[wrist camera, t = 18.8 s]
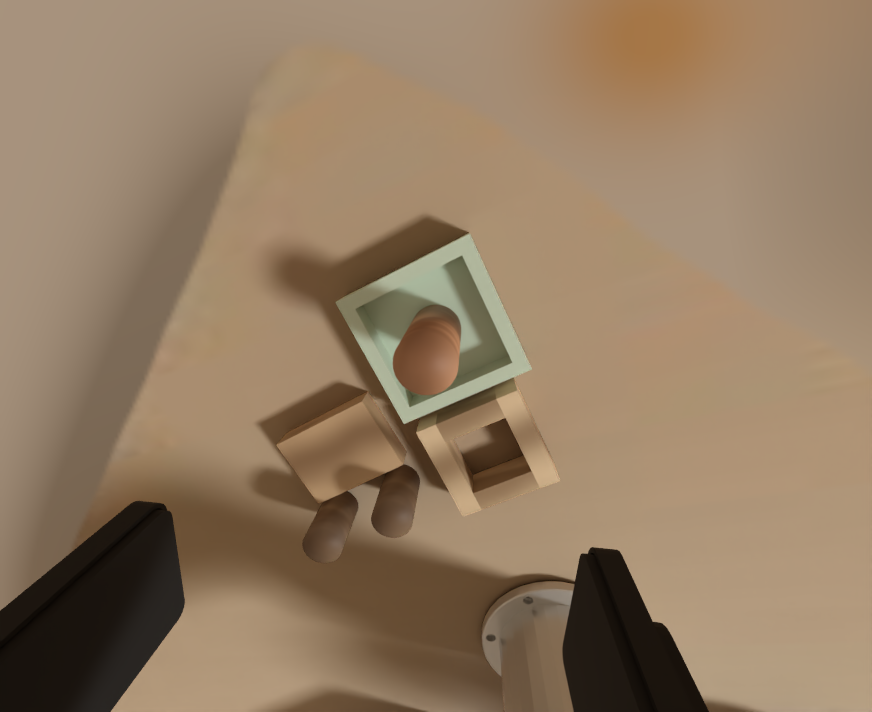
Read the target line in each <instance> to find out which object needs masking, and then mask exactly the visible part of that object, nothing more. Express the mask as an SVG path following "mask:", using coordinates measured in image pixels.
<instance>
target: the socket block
mask: <svg viewBox="0 0 872 712" xmlns="http://www.w3.org/2000/svg"><path fill="white" fill-rule="evenodd" d="M504 418H506V420H507V422H508V424H509V426H510V428H511V430H512V432H513V434H514V436H515V438H516V440H517V442H518V444H519V446H520V448H521V450H522V452H523V454H524V455H523V456H520V457H518V458H515V459H513V460H510V461H507V462H505V463H502V464H500V465H497V466H494V467H492V468H489V469H487V470H484V471H481V472H479V473H476V474H474V475H472V473H471V471H470V469H469V467H468V465H467V463H466V462H465V460H464V458H463V456H462V454H461V452H460V450H459V449H458V447H457V445H456V443H455V441H454V439H455V438H457V437H460V436H462V435H465V434H467V433H470V432H472V431H475V430H477V429H479V428H482V427H484V426H487V425H489V424H492V423H494V422H497V421H499V420H502V419H504ZM416 433H417V435H418V437H419V439H420V440H421V442H422V444H423V446H424V448H425V449H426V451H427V453H428V455H429V457H430V458H431V460H432V462H433V464H434V466H435V467H436V469H437V471H438V473H439V474H440V476H441V478H442V480H443V482H444V483H445V485H446V487H447V489H448V491H449V492H450V494H451V496H452V498H453V500H454V501H455V503H456V505H457V507H458V509H459V510H460V512H461V514H462V516H466V515H469V514H472V513H474V512H477V511H480V510H482V509H485V508H488V507H491V506H493V505H496V504H499V503H502V502H504V501H507V500H510V499H512V498H515V497H518V496H521V495H523V494H526V493H529V492H531V491H534V490H537V489H540V488H542V487H545V486H548V485H551V484H553V483H556V482H559V481H560V478H559V476H558V473H557V470H556V467H555V464H554V462H553V460H552V458H551V455H550V453H549V451H548V449H547V447H546V445H545V443H544V441H543V439H542V436H541V434H540V432H539V430H538V428H537V426H536V424H535V422H534V420H533V417H532V415H531V413H530V411H529V409H528V407H527V405H526V403H525V401H524V398H523V396H522V394H521V392H520V390H519V388H518V386H517V384H516V381H515V379H514V378H512V379H509V380H507V381H505V382H502V383H500V384H498V385H495V386H493V387H491V388H488V389H486V390H484V391H481V392H479V393H477V394H474V395H472V396H470V397H467V398H465V399H463V400H460V401H458V402H456V403H453V404H451V405H449V406H446V407H444V408H442V409H439V410H437V411H435V412H432V413H430V414H428V415H425V416H423V417H420V419H419V423H418V427H417V431H416Z"/></svg>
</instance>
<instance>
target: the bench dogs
mask: <svg viewBox="0 0 872 712" xmlns="http://www.w3.org/2000/svg"><path fill="white" fill-rule="evenodd" d="M419 485H420V478H419V475H418V474H417V472H416V471H415V470H414V469H413V468H411V467H409V466H406V465H402V466H400V467H398V468H395V469H393V470H391V471H389V472H387V473H385V476H384V479H383V482H382V485H381V488H380V491H379V495H378V498H377V501H376V504H375V507H374V510H373V513H372V517H371V521H372V525H373V527H374V528H375V530H376V531H377V532H379V533H380V534H382V535H383V536H386V537H391V538H397V537H401V536H403V535H405V534H407V533H408V532H409V530H410V529H411V527H412V523H413V517H414V512H415V506H416V501H417V495H418V490H419ZM357 510H358V502H357V500H356V498H355V497H354V496H353V495H352V494H351V493H349V492H347V491H346V492H343V493H341V494H339V495H337V496H335V497H333V498H330V499H328V500H326V501H324V502H323V503H322V505H321V507H320V508H319V510H318V512H317V514H316V516H315V518H314V520H313V522H312V524H311V526H310V528H309V530H308V532H307V534H306V536H305V538H304V540H303V549H304V552H305V553H306V555H307V556H308V557H309V558H311V559H312V560H314V561H316V562H320V563H330V562H333V561H335V560H337V559H338V558H339V556H340V555H341V552H342V550H343V547H344V544H345V542H346V539H347V537H348V534H349V531H350V529H351V526H352V523H353V521H354V518H355V516H356V513H357Z"/></svg>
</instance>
